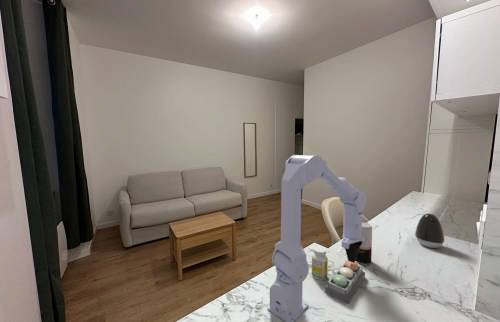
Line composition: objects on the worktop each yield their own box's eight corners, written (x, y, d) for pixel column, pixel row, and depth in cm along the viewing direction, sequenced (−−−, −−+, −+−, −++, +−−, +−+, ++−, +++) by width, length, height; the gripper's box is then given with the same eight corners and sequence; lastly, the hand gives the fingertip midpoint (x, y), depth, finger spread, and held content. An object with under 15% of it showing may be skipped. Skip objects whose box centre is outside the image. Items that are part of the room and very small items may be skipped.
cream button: (350, 280, 64) (350, 275, 64) (337, 275, 66) (337, 270, 66) (354, 275, 66) (354, 270, 66) (342, 270, 69) (342, 265, 69)
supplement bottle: (315, 281, 68) (315, 253, 68) (309, 271, 74) (309, 246, 73) (330, 280, 69) (330, 253, 69) (323, 270, 74) (323, 245, 74)
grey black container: (357, 254, 86) (357, 220, 85) (374, 261, 81) (374, 224, 80) (350, 259, 82) (350, 224, 81) (367, 267, 77) (368, 228, 76)
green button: (344, 289, 60) (344, 284, 60) (331, 283, 62) (331, 278, 62) (348, 282, 63) (349, 278, 62) (336, 277, 65) (336, 272, 65)
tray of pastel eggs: (348, 304, 58) (348, 292, 58) (324, 292, 63) (325, 281, 63) (364, 277, 70) (365, 267, 70) (344, 269, 75) (344, 260, 75)
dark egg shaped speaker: (420, 248, 91) (421, 215, 90) (411, 239, 100) (412, 209, 100) (449, 252, 87) (450, 218, 86) (437, 242, 97) (438, 211, 96)
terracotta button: (355, 273, 68) (356, 268, 67) (343, 268, 70) (343, 264, 70) (359, 268, 70) (359, 263, 70) (347, 263, 73) (347, 259, 73)
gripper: (358, 232, 62) (357, 275, 62) (370, 220, 72) (370, 257, 73) (335, 226, 67) (335, 266, 67) (350, 216, 77) (349, 250, 78)
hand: (351, 261), depth 70 cm, fingers closed
